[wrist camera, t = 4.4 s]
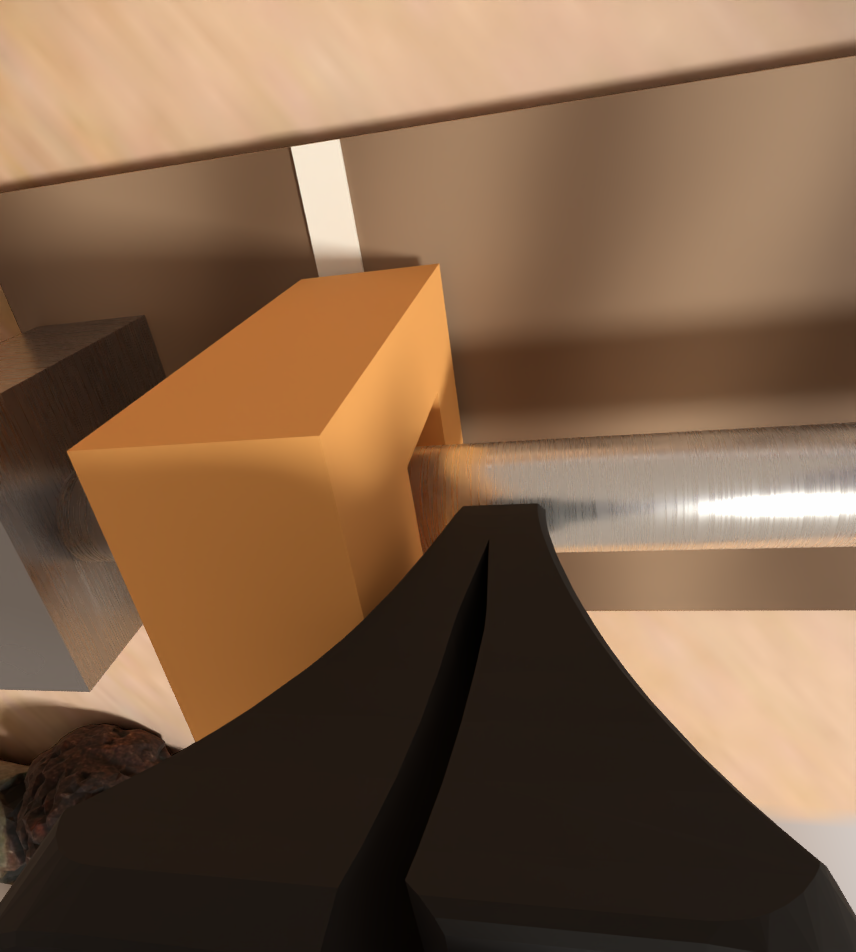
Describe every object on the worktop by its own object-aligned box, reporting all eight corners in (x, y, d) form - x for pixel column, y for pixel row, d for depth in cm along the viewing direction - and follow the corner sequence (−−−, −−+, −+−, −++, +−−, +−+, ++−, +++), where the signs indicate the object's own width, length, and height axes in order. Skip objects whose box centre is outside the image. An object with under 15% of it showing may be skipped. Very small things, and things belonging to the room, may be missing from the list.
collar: (439, 263, 14) (319, 435, 7) (476, 546, 17) (421, 853, 10) (301, 279, 14) (67, 450, 8) (363, 549, 18) (238, 839, 11)
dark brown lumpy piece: (-72, 783, 31) (-191, 910, 26) (-137, 674, 28) (-286, 797, 23) (297, 839, 28) (240, 996, 23) (273, 725, 25) (202, 878, 20)
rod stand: (1388, -32, 11) (2469, -187, 5) (1126, 582, 16) (1459, 871, 10) (-6, 193, 16) (-339, 254, 10) (160, 591, 22) (8, 781, 16)
